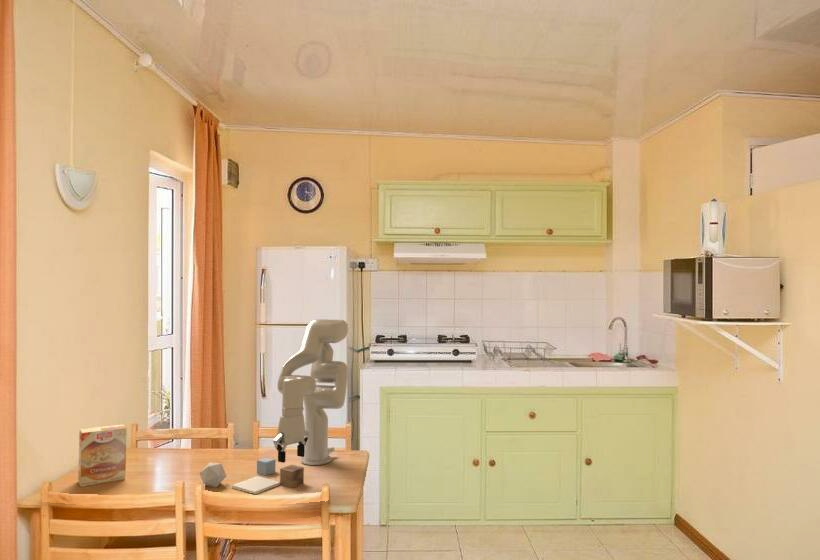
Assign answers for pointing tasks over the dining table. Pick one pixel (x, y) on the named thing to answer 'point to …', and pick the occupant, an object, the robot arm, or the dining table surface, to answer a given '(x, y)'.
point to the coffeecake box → (102, 454)
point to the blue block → (266, 466)
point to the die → (213, 474)
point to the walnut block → (292, 476)
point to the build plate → (255, 485)
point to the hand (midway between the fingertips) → (291, 459)
